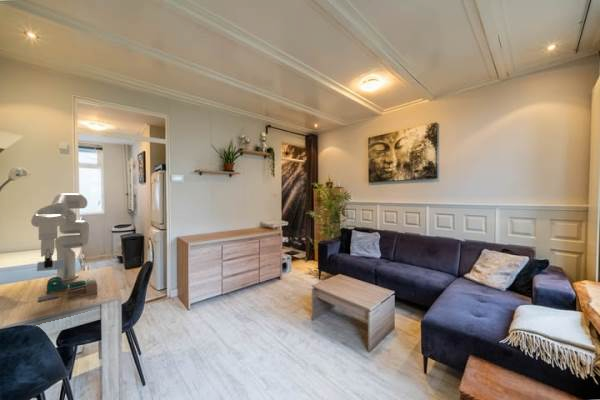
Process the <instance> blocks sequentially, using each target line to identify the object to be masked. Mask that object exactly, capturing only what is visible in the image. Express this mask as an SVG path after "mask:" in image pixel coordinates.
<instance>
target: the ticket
mask: <svg viewBox="0 0 600 400" xmlns="http://www.w3.org/2000/svg"><path fill="white" fill-rule="evenodd" d="M64 263H65V260H57V259H56V260H52V267H49V268H44V261H37V264H36V265H37V266H36V272H44V271H45V272H46V271H52V270H53V271H54V270H56V271H57V269H64Z"/></svg>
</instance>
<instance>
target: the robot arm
mask: <svg viewBox="0 0 600 400" xmlns="http://www.w3.org/2000/svg"><path fill="white" fill-rule="evenodd" d="M87 206H88V199H87V198H86V197H85V196H84V195H83V194H81V193H80V194H79V193H59V194H57V195H56V196H55V197H54V199H53V201H52V202H51V204H49V205H46V206H44V207H41V208H39V209H37V210H36V211H35V213H34V214H33V215H32V218H31V222H30V223H31V224H32V226H33V227H35V228H38V240H39V241H40V257H41V258H43V257H44V259H43V260H44V268H49V267H52V261H53V256H54V254H55V250H56V260H65V263H64V269H56V277H60V278H61V279H62V282H64V281H65V282H66V281H70V280H73V279H76V278H78V277H79V274H78V273H76V252H75V251H74V250H73V249H78V248H79V249H80V248H85V247H87V246H88V245H89V237H90V236H89V235H90V224H89V222H88V221H87V220H77V217H78V216H77V214H76V212H75V211H74V210H72V209H86V207H87ZM58 227H59V232H60V234H62V235H61V236H58Z"/></svg>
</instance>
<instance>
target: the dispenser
mask: <svg viewBox="0 0 600 400" xmlns="http://www.w3.org/2000/svg"><path fill="white" fill-rule="evenodd" d="M85 281H86V282H85V285H83V286H79V287H75V288H70V285H68V289H67V299H68V300H70V299H73V298H74V297H75V298H79V297H82V296H83V295H84V296H91V295H95V294H98V283H97V280H96V278H94V277H89V278H87V279H86V280H85Z"/></svg>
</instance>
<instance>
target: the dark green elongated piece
mask: <svg viewBox="0 0 600 400" xmlns="http://www.w3.org/2000/svg"><path fill="white" fill-rule="evenodd" d="M86 281H87V280H86V279H85V280H84V279H82V280H77V281H71V282H66V283H63V281H62V279H61V278H60V277H57V276H53V277H51V278H49V279H48V280H47V283H46V293H47V294H50V293H54V292H60V291H65V290H68V285H70V288H75V287H79V286H84V285H85V282H86Z"/></svg>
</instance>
